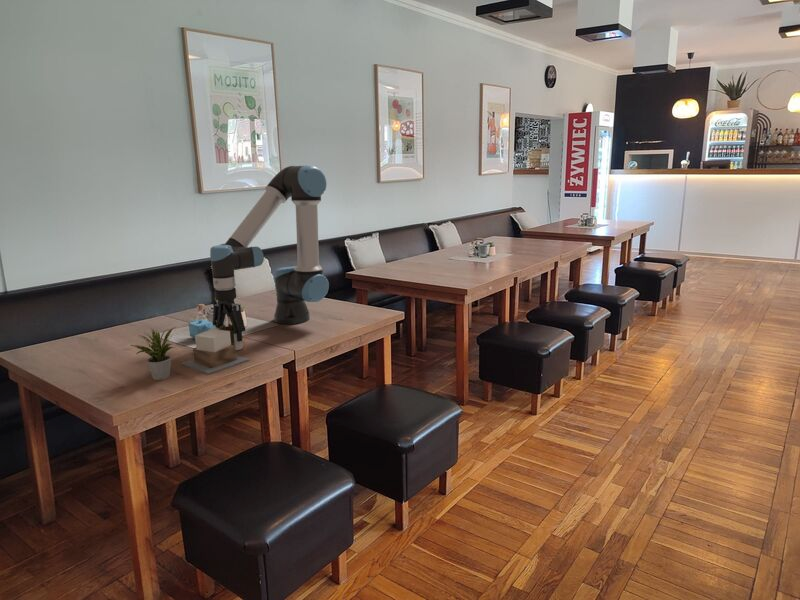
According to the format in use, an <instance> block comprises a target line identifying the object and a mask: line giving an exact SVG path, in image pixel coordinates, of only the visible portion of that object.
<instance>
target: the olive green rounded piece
mask: <svg viewBox="0 0 800 600" xmlns="http://www.w3.org/2000/svg"><path fill="white" fill-rule="evenodd" d="M218 329H219V330H224V331H230V338H231V345H233V346H235V341H234V332H235V330H234V328H233V326H232V323H231V324H230V323H229V324H228V325H227V326H226V325H225V324H224V325H223V326H220V328H218ZM237 330H238V329H237Z"/></svg>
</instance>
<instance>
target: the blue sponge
mask: <svg viewBox="0 0 800 600" xmlns="http://www.w3.org/2000/svg"><path fill="white" fill-rule="evenodd" d="M188 329H189V331H188V332H189V336H190V338H193V340H195V335H197V334H200V333H203V332H205V331H208V330H210V329H214V325H213V321H208V320H206V319H198V320H194V319H193V318H192V319H190V322H188Z"/></svg>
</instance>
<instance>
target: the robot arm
mask: <svg viewBox="0 0 800 600" xmlns="http://www.w3.org/2000/svg"><path fill="white" fill-rule="evenodd" d="M326 189H327V178H326V175H325V173H324V172H323V171H322V170H321V169H320V168H319V167H316V166H313V165H289V166H286V167H284V168H282V169H281V170H280V171H278V173H277V174H275V175H274V177H272V179H271V180H270V181H269V182H268V184H267V185H266V186H265V192H264V193H263V194H262V196H261V197H260V198H259V200H258V201H257V202H256V203H255V205H254V206H253V207H252V209H251V210H249V212H248V214H247V215H246V216H245V218H243V220H242V221H241V223H240V224H239V225H238V226H237V228H236V229H235V230H234V231H233V233H232V234H231V236H230V237H229V238H228V239H227V240H226V242H225V243H220V244H218V245H214V246H211V247H210V249H209V250H210V251H209V252H210V253H209V255H210V256H209V259H210V261H211V262H210V264H211V265H210V266H211V274H212V283H213V288H214V290H213V294H214V300H213V301H212V305H213V309H212V310H213V312H212V313H213V314H212V323H213V326H215V328H216V330H219V329H218V328H220V326H223V325H225V323H224V322H225V320H226V316H227V317H228V318H229V321H230V323H231V325H232V326H233V328H234V330H235V332H234V341H235V349H236V351H239V350H242V349H243V348H244V347H243V332H246V327H245V322H244V317H243V314H242V307H241V304H240V303H239V304H236V303H235V299H236V298H237V289H236V279H235V271H238V270H244V269H250V268H257V267H261V266H262V265H263V263H264V260H265V259H264V258H265V257H264V252H263V250H262V248H260V247H259V246H250V244H251V243H252V242H253V240H254V239H256V236H258V234H259V233H260V231H261V230H262V229H263V228H264V226H265V225H266V223H267V222H269V220H270V219H271V217H272V215H273V214H274V213H275V212H276V211H277V210H278V208H279V207H280V205H281V204H285V203H286V202H287V201H288V200H289V198H291V199H290V200H291V202H292V203H293V205H295V223H296V224H295V225H296V226H295V227H296V251H297V252H296V253H297V254H296V256H297V265H293V266H291V265H290V266H283V267H280V268H277V269H276V270H275V271H274V281H275V283H274V284H275V292H276V295H275V296H276V307H275V312H274V316H273V318H274V319H273V320H274V322H275V323H277V324H282V325H294V324H295V325H296V324H300V323H305V322H308V321H309V320H310V319H311V317H310V311H309V309H308V306H307V304H306V302H308V303H317V302H320V301H322V300H323V299H324V298H325V296H326V295H327V294H328V292H329V287H330V283H329V280H328V278H327V277H326V276H325V275H324V269H323V267H322V266H321V265H320V258H319V257H320V254H319V249H320V247H319V220H318V219H319V218H318V216H319V215H318V213H319V212H318V205H319V204H320V203H321V202H322V195H323V194H325V193H324V192H325V191H326ZM237 329H238V330H237Z"/></svg>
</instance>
